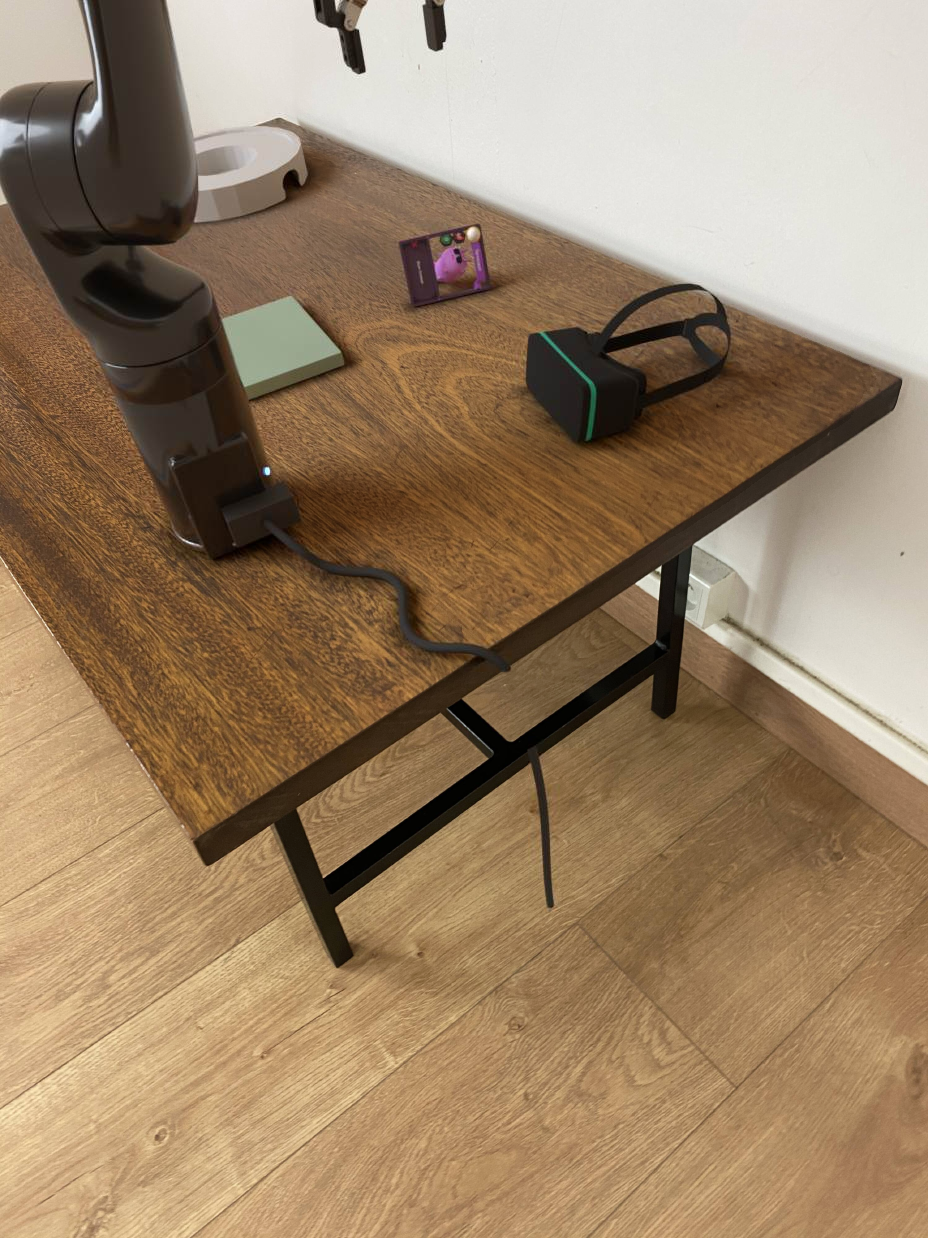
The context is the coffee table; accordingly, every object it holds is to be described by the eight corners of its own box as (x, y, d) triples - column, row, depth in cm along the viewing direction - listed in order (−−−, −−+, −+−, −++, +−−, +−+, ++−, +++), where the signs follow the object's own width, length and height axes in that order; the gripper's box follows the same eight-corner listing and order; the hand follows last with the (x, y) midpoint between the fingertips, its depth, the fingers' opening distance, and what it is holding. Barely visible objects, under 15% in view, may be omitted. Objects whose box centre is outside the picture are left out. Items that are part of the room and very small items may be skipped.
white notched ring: (288, 142, 138) (281, 113, 135) (325, 194, 123) (318, 163, 120) (138, 179, 134) (128, 150, 132) (157, 237, 119) (146, 206, 116)
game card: (399, 241, 95) (481, 223, 96) (392, 239, 99) (471, 221, 100) (413, 307, 98) (492, 289, 99) (406, 302, 102) (482, 284, 103)
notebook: (344, 364, 92) (341, 351, 91) (243, 402, 89) (238, 389, 88) (294, 307, 102) (291, 294, 100) (201, 339, 99) (197, 326, 98)
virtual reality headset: (524, 386, 85) (530, 282, 78) (679, 354, 89) (698, 253, 82) (578, 447, 78) (590, 339, 71) (744, 410, 82) (770, 304, 75)
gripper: (306, -132, 73) (348, 89, 85) (460, -168, 77) (479, 49, 88) (274, -140, 78) (317, 71, 90) (420, -173, 81) (443, 34, 93)
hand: (397, 60), depth 89 cm, fingers open, 8 cm apart
